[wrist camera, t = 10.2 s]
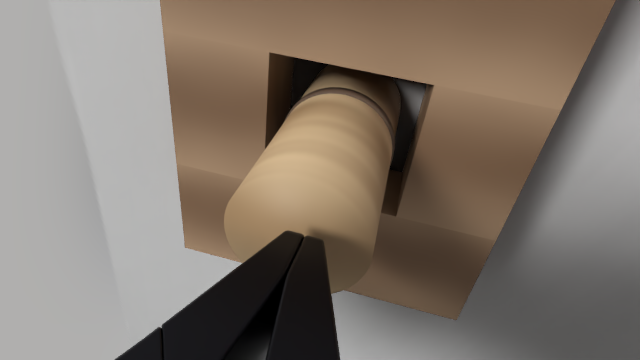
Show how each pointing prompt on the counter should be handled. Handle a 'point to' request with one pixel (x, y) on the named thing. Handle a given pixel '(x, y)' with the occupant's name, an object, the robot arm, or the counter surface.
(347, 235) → the peg
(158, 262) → the counter surface
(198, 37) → the board
